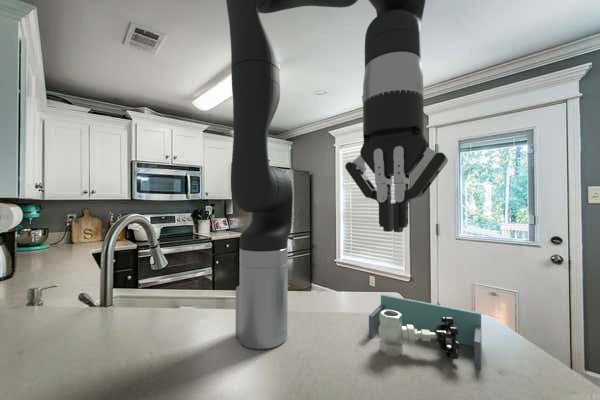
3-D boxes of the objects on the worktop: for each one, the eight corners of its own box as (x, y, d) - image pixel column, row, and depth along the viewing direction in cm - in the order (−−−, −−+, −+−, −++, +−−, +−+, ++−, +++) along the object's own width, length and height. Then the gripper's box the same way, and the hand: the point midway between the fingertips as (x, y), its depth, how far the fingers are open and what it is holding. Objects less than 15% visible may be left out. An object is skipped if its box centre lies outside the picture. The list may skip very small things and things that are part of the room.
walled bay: (368, 336, 52) (368, 305, 52) (382, 321, 59) (381, 294, 59) (480, 368, 42) (480, 329, 42) (481, 346, 48) (481, 312, 48)
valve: (380, 360, 44) (460, 369, 42) (380, 320, 44) (460, 326, 42) (376, 341, 51) (445, 347, 48) (376, 305, 51) (445, 310, 48)
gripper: (453, 97, 35) (455, 232, 34) (355, 117, 42) (356, 227, 42) (446, 74, 29) (448, 237, 28) (333, 102, 36) (334, 230, 36)
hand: (393, 231), depth 35 cm, fingers closed
